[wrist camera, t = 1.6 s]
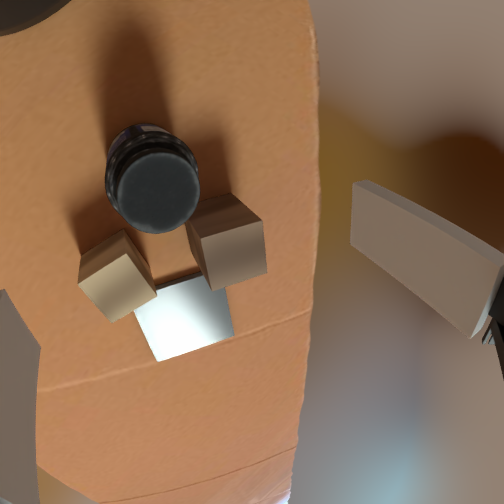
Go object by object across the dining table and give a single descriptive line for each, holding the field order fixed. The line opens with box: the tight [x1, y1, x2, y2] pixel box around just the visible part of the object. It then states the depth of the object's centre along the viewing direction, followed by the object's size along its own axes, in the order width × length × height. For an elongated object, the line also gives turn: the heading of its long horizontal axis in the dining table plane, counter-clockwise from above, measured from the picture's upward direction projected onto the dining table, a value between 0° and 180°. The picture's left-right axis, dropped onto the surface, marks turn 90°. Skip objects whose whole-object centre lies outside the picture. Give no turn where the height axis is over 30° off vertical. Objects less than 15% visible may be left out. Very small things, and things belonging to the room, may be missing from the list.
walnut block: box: [185, 193, 267, 291], centre depth 28 cm, size 5×5×7 cm
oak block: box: [78, 229, 157, 323], centre depth 26 cm, size 5×5×5 cm
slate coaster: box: [134, 272, 234, 362], centre depth 34 cm, size 10×10×1 cm
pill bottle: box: [105, 123, 200, 234], centre depth 21 cm, size 6×6×11 cm
